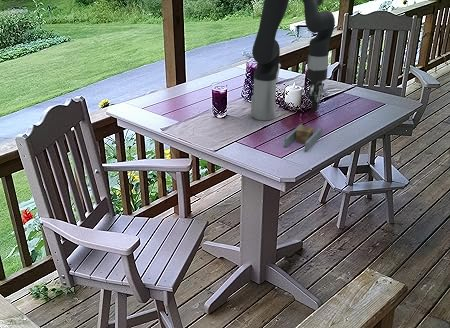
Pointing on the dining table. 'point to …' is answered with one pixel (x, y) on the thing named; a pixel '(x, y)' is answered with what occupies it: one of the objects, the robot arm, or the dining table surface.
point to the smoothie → (277, 73)
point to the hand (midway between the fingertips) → (314, 110)
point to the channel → (308, 143)
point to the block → (303, 134)
